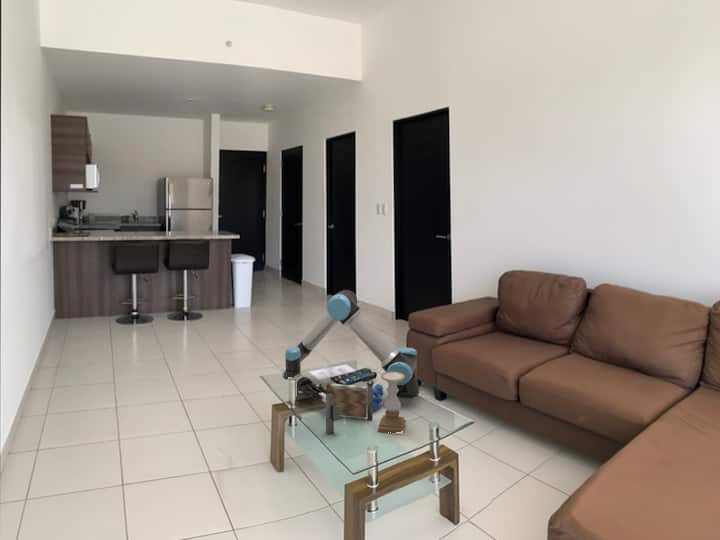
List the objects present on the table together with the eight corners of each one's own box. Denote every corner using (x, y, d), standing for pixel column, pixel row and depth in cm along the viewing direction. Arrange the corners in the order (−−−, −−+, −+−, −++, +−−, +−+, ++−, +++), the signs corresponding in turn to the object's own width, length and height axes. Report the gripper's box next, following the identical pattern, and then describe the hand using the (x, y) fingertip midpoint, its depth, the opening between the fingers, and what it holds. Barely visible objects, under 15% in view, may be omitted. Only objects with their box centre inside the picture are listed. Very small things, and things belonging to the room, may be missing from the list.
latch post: (334, 429, 227) (334, 392, 225) (339, 433, 224) (339, 395, 222) (326, 432, 225) (325, 394, 222) (330, 435, 222) (330, 397, 219)
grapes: (374, 402, 256) (374, 379, 254) (386, 405, 252) (386, 381, 250) (362, 411, 246) (362, 387, 244) (375, 414, 242) (375, 390, 240)
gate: (366, 416, 239) (366, 386, 236) (365, 418, 236) (365, 388, 234) (327, 413, 242) (327, 383, 240) (326, 415, 240) (326, 385, 238)
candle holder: (403, 434, 223) (404, 381, 219) (377, 432, 225) (378, 379, 221) (406, 423, 234) (407, 372, 230) (381, 421, 236) (382, 370, 232)
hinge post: (370, 417, 239) (370, 379, 237) (374, 419, 237) (375, 381, 234) (364, 419, 238) (365, 381, 235) (369, 421, 235) (369, 383, 232)
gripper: (314, 388, 265) (340, 404, 246) (290, 394, 257) (315, 411, 238) (314, 374, 264) (340, 389, 245) (290, 379, 256) (315, 395, 237)
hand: (328, 400), depth 241 cm, fingers closed
